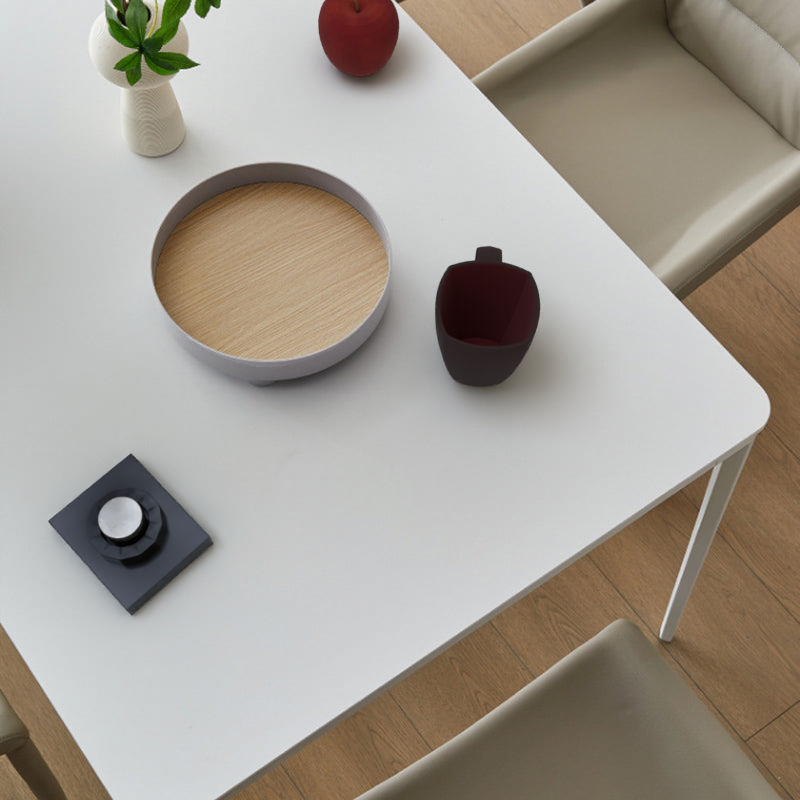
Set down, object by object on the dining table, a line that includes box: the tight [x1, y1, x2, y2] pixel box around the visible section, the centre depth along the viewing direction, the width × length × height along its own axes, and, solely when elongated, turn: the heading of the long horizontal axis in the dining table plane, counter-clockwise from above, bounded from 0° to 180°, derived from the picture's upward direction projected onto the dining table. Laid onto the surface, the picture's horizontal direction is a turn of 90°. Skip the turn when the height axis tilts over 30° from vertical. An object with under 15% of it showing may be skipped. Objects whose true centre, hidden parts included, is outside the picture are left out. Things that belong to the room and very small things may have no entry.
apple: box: [317, 0, 400, 77], centre depth 119 cm, size 10×10×10 cm
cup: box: [434, 245, 541, 388], centre depth 102 cm, size 10×14×12 cm
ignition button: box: [98, 497, 147, 545], centre depth 94 cm, size 4×4×2 cm
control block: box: [47, 452, 214, 616], centre depth 96 cm, size 12×10×4 cm
